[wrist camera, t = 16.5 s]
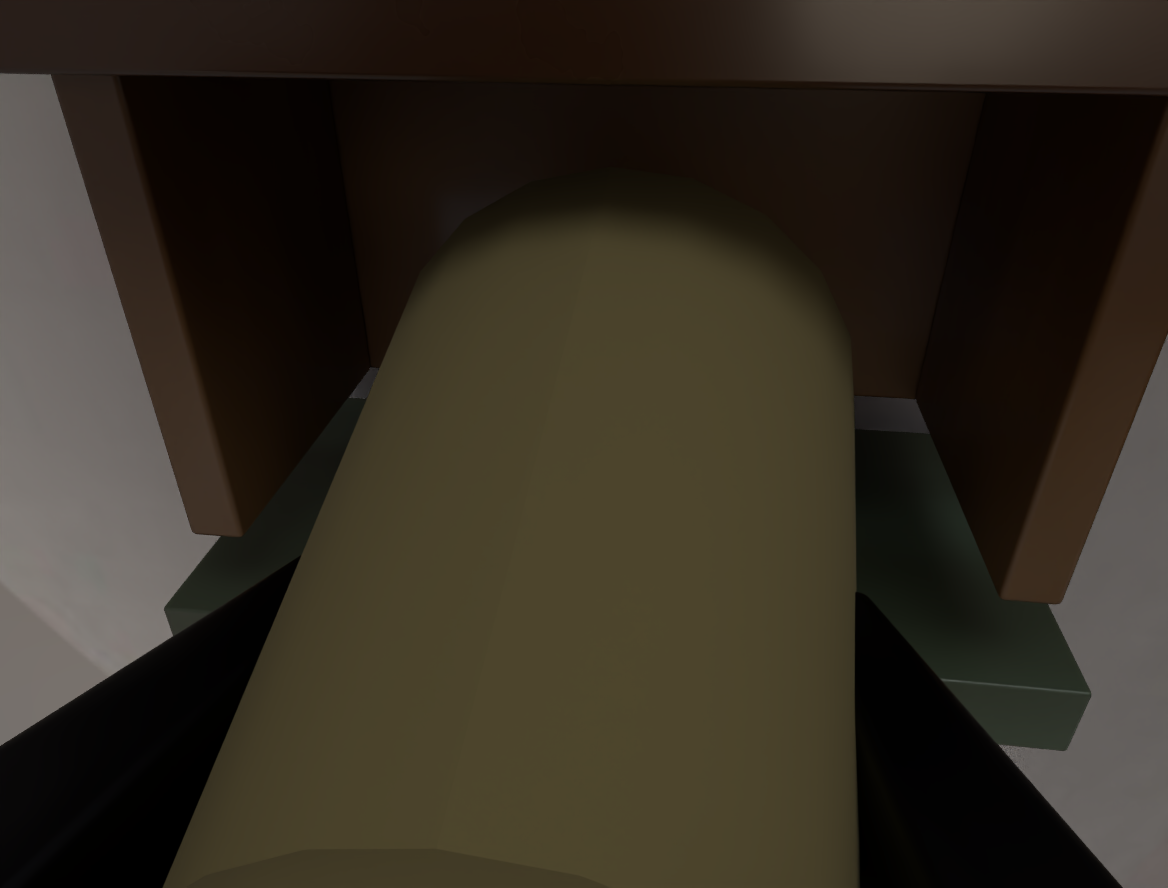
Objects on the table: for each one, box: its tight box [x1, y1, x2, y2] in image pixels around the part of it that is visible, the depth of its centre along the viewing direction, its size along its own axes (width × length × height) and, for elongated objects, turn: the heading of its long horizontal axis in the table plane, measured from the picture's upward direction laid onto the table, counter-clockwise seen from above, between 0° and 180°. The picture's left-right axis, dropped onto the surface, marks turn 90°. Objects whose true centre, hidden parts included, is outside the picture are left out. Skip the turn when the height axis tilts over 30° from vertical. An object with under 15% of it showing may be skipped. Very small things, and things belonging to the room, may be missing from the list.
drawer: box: [51, 74, 1168, 751], centre depth 13 cm, size 17×13×7 cm
